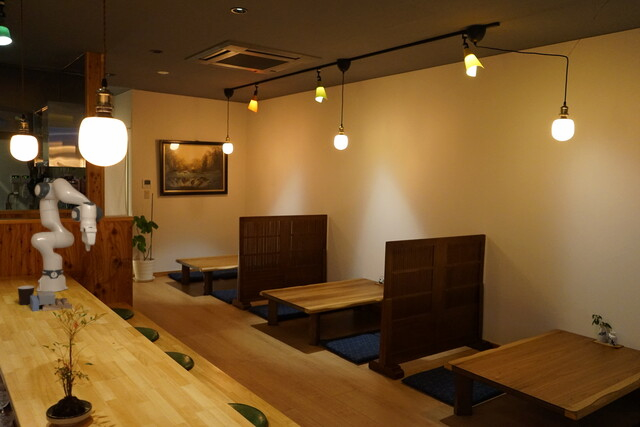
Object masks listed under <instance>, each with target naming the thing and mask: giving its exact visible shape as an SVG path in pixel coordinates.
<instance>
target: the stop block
mask: <svg viewBox="0 0 640 427" xmlns="http://www.w3.org/2000/svg"><path fill="white" fill-rule="evenodd" d="M29 307H30V309H31V311H32V312H40V305H39V299H38V298H37V294H33V296H30V305H29Z"/></svg>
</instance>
